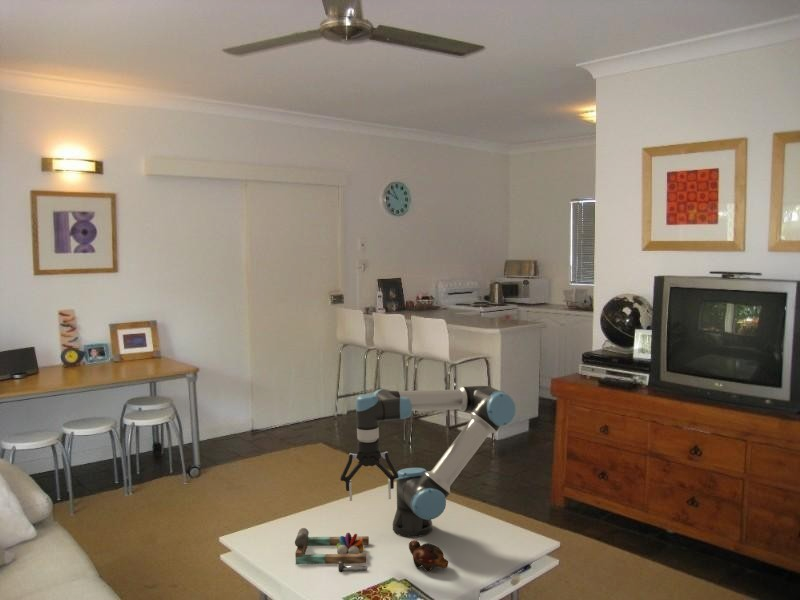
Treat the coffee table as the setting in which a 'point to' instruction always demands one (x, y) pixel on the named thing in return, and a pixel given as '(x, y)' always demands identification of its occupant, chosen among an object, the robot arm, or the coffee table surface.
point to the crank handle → (350, 567)
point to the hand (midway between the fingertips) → (370, 498)
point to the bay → (303, 558)
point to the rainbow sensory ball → (350, 545)
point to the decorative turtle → (427, 555)
